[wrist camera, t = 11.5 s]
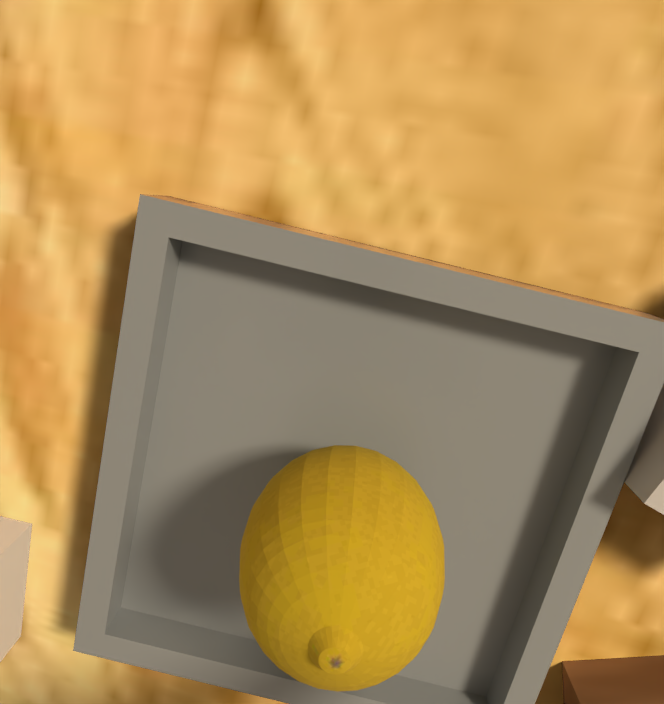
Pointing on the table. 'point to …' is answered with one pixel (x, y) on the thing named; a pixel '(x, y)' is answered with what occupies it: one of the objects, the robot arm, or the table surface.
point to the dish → (354, 443)
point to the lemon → (342, 568)
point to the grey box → (650, 461)
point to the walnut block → (614, 681)
